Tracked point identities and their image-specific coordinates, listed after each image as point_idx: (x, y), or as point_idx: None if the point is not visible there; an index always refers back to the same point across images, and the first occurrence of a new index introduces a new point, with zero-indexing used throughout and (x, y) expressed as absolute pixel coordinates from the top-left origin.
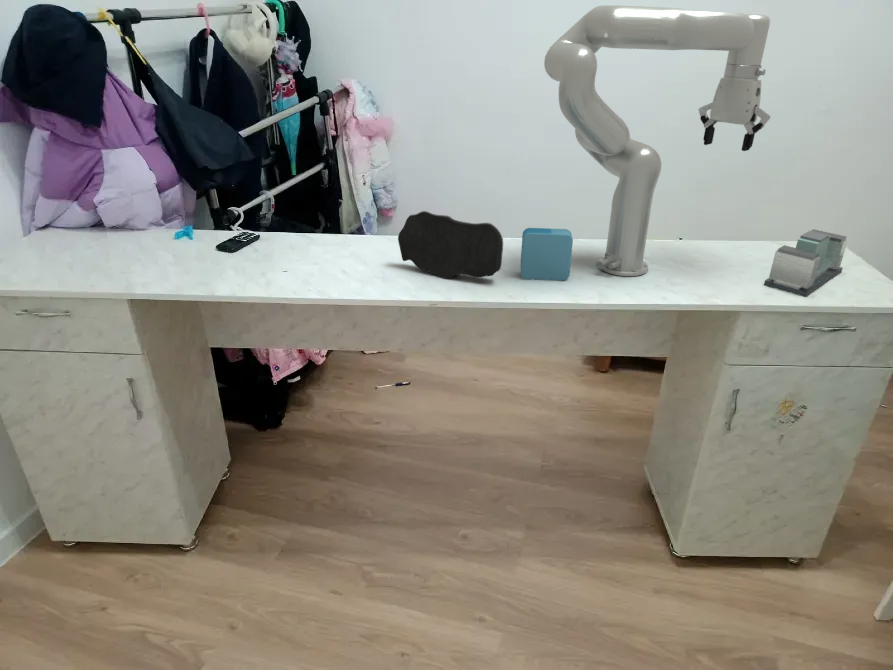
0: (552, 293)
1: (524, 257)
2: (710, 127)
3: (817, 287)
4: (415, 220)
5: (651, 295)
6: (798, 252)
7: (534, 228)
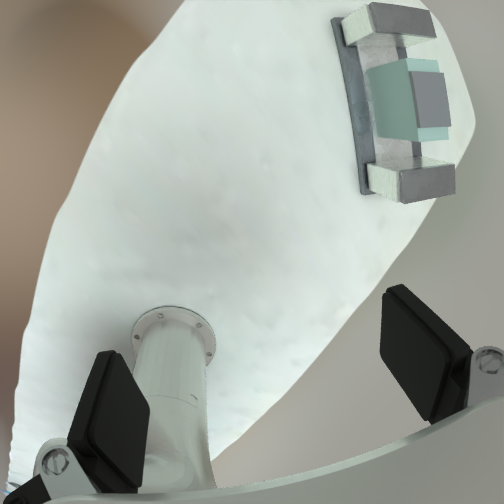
0: (209, 440)
1: None
2: (121, 486)
3: None
4: None
5: (279, 370)
6: (434, 192)
7: None
